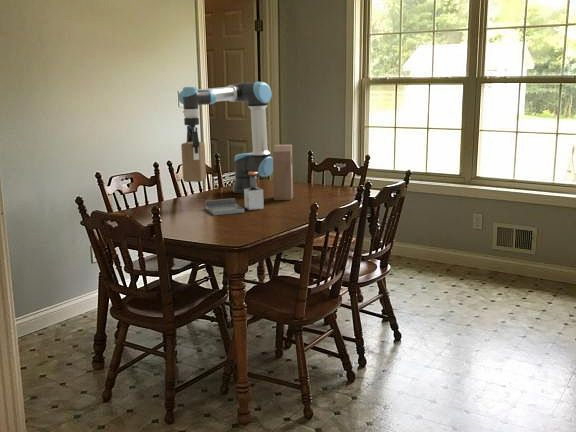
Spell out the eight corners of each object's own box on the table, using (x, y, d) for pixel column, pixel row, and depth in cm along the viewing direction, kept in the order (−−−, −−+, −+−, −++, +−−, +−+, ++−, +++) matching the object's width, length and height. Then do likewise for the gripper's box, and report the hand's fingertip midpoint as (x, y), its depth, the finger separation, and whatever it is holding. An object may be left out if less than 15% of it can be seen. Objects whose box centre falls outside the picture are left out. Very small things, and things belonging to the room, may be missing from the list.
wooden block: (201, 182, 330) (199, 143, 326) (182, 182, 332) (180, 143, 328) (206, 179, 340) (204, 141, 336) (189, 178, 342) (186, 141, 337)
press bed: (205, 208, 336) (205, 200, 335) (235, 206, 341) (234, 198, 340) (213, 215, 319) (213, 206, 318) (244, 212, 325) (244, 204, 324)
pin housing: (244, 207, 338) (244, 188, 336) (259, 205, 341) (258, 187, 338) (249, 210, 330) (248, 191, 328) (263, 208, 333) (263, 189, 331)
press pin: (247, 192, 335) (247, 171, 333) (256, 191, 337) (256, 171, 335) (250, 194, 331) (249, 173, 328) (259, 193, 332) (259, 172, 330)
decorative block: (293, 196, 364) (291, 144, 358) (291, 200, 354) (290, 146, 348) (276, 196, 365) (274, 144, 359) (273, 200, 355) (272, 146, 349)
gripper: (179, 116, 339) (182, 156, 344) (189, 118, 316) (191, 161, 321) (193, 115, 341) (195, 155, 346) (203, 118, 319) (206, 160, 323)
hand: (193, 158), depth 333 cm, fingers closed on wooden block, 13 cm apart
